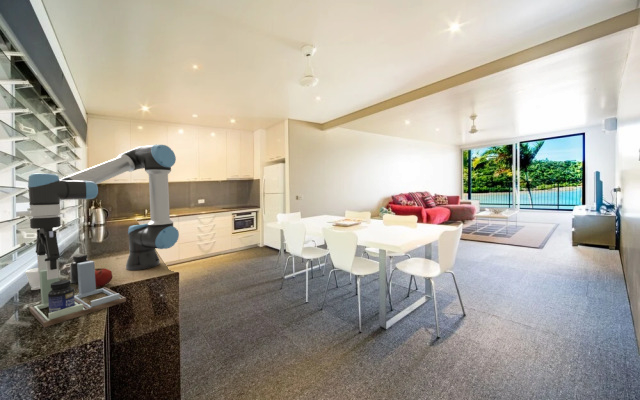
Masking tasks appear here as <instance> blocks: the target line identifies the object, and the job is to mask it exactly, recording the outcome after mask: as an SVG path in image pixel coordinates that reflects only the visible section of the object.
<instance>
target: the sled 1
mask: <svg viewBox="0 0 640 400" xmlns="http://www.w3.org/2000/svg"><path fill="white" fill-rule="evenodd" d="M39 273H40V288H41V289H40V299H41V300H40V301H41V303H40V304H37V305H35V306H33V308H34V309H35V310H36V311H37V312H38V313H39V314H40V315H41V316H42V317H43V318H44V319H45V320H46V321H48V320H51V319H55V318H58V317H61V316H64V315H68V314H71V313H74V312H78V311H81V310H84V309H85V308H83V304H78V303H76V302H75V306H72V307H68V308H65V309H62V310H58V311H55V312H51V313H49V312H48V313H47V314H48V315H47V316H48V317H47V316H46V315H45V314H44V313H43V311H41V310H42V309H45V308H49V302H48V293H49V292H50V291H51V290H52V288H51V283H54V282H57V281H61V280H60V277H59V278H54V279H49V280H47V269H45V270H40V271H39Z"/></svg>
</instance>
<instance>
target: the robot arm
mask: <svg viewBox="0 0 640 400" xmlns="http://www.w3.org/2000/svg"><path fill="white" fill-rule="evenodd" d="M176 157H177V156H176V155H175V152H174V150H172V148H171V147H170V146H168V145H166V144H151V145H141V146H137V147H135V148H133V149H130V150H128V151H125V152H122V153H121V154H119V155H118V156H117V157H116V158H112V159H110V160H108V161H104V162H102V163H99V164H97V165H94V166H92V167H89V168H86V169H84V170H81V171H78V172H75V173H72V174H70V175H68V176H65V177H61V178H60V177H59V175H58V174H56V173H38V172H37V173H31V174H30V175H29V176H28V181H27V182H28V183H27V188H28V189H27V190H28V198H29V199H28V200H29V207H28V208H27V209H26V210H27V211H28V212H29V216H30V217H31V218H30V219H29V225H30V226H29V227H30V229H33V230H36V243H35V253H36V255H37V268H38V273H39V271H40V270H45V269H47V280H49V279H54V278H59V279H60V270H59V259H60V257H61V255H60V250H59V249H60V248H59V244H58V237H57V230H54V229H53V228H59V227H61V225H62V224H61V223H62V222H61V217H60V215H61V201H63V200H64V201H65V200H69V201H70V200H85V201H86V200H93V199H95V198H96V197H97V196H98V194H99V188H98V185H99V184H100V183H103V182H105V181H107V180H111V179H112V178H114V177H117V176H119V175H121V174H125V172H134V171H137V170H140V169H141V170H143V169H144V171H145V172H146V174H148V189H149V213H150V215H149V217H150V221H148V223H143V224H141V223H140V224H136V225H135V224H134V225H130V226H128V231H127V234H128V251H129V253H128V254H129V255H128V256H127V257H128V258H127V260H126V264H125V267H126V268H125V269H126V270H128V271H140V270H146V268H147V269H152V268H154V267H157V266H159V265H160V263H161V262H160V258H159V255H158V254H157V251H156V249H158V250H167V249H170V248H172V247H174V246H175V244H176V243H177V242H178V240H179V231H178V229H177V228H176V227H175V226H174V221H172V220H171V217H170V216H171V215H170V214H171V213H170V195H169V194H170V190H169V174H170V173H171V172H172V167H173V166H174V165H175V163H176ZM151 267H152V268H151Z"/></svg>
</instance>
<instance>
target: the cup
mask: <svg viewBox="0 0 640 400" xmlns="http://www.w3.org/2000/svg"><path fill="white" fill-rule="evenodd" d="M25 274H26V275H25V276H26V278H27V281H28V284H29V286H30V288H31V289H30V290H31V291H36V290H41V288H40V273H38V267H35V268H31V269H28V270H25Z"/></svg>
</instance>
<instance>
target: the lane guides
mask: <svg viewBox="0 0 640 400" xmlns="http://www.w3.org/2000/svg"><path fill="white" fill-rule="evenodd" d="M102 288H103V289H105V290H107V291H109V292H111V293H113V294H117V292H116V291H114V290H112V289H110V288H108V287H106V286H102ZM119 295H120V299H117V300H114V301H110V302H107V303H104V304H100V305H97V306H94V307H91V308H89V307H87V306H86V305H84V304H83V303H81V302H80V301H78V300H77V299H76V298H74V301H75V302H76V303H78V304H83V308H85V309H84V310H81V311H78V312H74V313H71V314H68V315H64V316H61V317H58V318H55V319H51V320H48V321H46V320H45V319H44V318H43V317H42V316H41V315H40V314H39V313H38V312H37V311H36V310H35V309H34V306H29V312H30V313H31V314H32V315H33V316H34V318H35V319H36V320H37V321H38V322H39V323H40V324H41V326H42V327H43V328H47V327H50V326H53V325H56V324H59V323H63V322H66V321H69V320H72V319H75V318H78V317H82V316H85V315H88V314H91V313H94V312H98V311H100V310H104V309H107V308H110V307H113V306H116V305H119V304H123V303H126V301H127V300H126V296H123V295H122V294H120V293H119Z"/></svg>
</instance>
